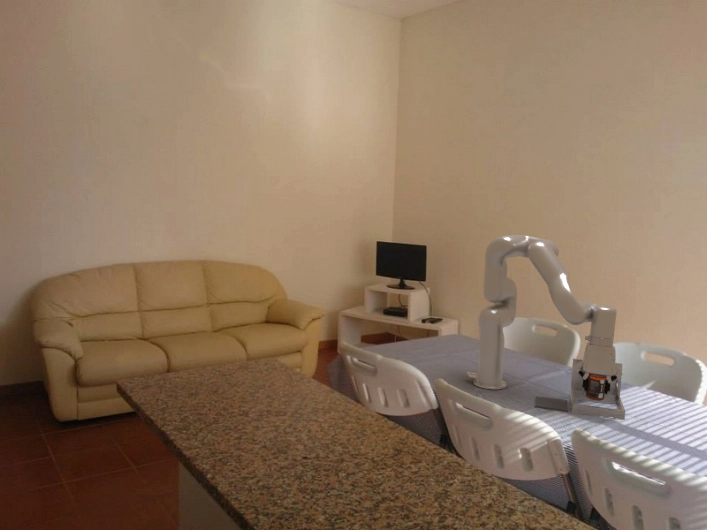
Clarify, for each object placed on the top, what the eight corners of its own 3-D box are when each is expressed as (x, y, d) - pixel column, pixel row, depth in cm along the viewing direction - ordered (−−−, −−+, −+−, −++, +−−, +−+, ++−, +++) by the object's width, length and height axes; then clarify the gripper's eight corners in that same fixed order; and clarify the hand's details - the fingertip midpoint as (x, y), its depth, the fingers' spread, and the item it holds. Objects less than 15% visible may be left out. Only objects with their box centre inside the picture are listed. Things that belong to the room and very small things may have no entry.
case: (571, 412, 196) (574, 370, 194) (570, 396, 212) (572, 357, 210) (624, 419, 190) (628, 376, 189) (618, 402, 207) (621, 362, 205)
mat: (534, 407, 200) (535, 405, 200) (535, 397, 210) (535, 396, 210) (568, 411, 196) (568, 410, 196) (567, 401, 207) (567, 400, 207)
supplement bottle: (605, 402, 194) (609, 370, 193) (587, 400, 195) (590, 368, 194) (601, 396, 200) (605, 365, 198) (584, 394, 201) (587, 363, 200)
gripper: (574, 340, 194) (569, 390, 197) (630, 347, 189) (623, 399, 191) (574, 335, 201) (568, 384, 204) (627, 341, 196) (621, 392, 198)
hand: (595, 390), depth 197 cm, fingers closed on supplement bottle, 6 cm apart
